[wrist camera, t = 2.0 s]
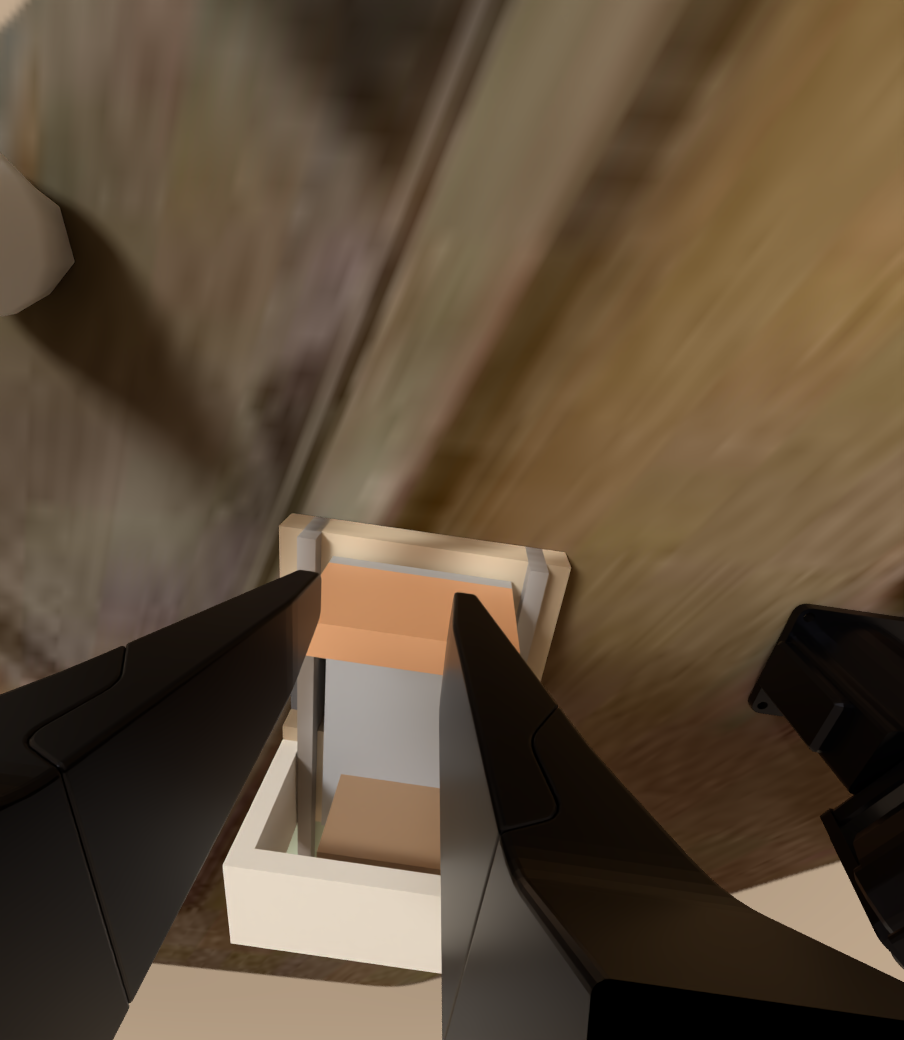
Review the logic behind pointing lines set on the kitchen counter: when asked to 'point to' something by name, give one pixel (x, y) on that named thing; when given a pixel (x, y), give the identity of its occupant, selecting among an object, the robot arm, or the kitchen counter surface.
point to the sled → (388, 706)
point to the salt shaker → (28, 242)
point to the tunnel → (323, 891)
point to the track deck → (320, 539)
